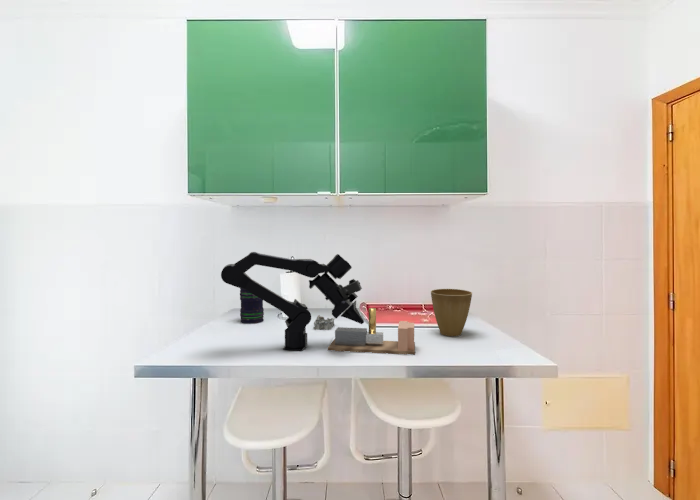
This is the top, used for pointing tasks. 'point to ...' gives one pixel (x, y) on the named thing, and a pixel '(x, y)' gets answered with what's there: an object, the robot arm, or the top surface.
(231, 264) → the robot arm
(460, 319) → the plant pot
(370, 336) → the sliding bolt with handle
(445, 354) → the top surface
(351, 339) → the grey rectangular block
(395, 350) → the walnut board
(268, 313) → the top surface
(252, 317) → the storage jar
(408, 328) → the terracotta socket
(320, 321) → the grey castle model
